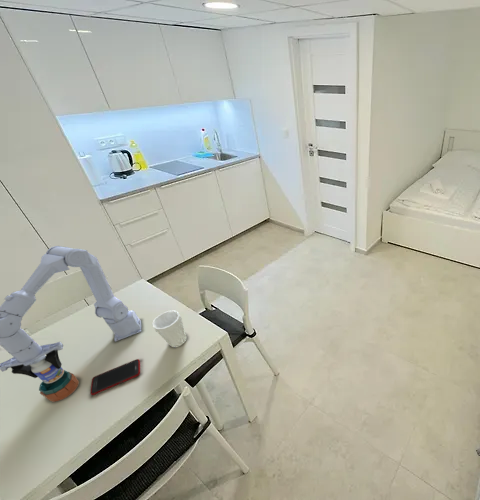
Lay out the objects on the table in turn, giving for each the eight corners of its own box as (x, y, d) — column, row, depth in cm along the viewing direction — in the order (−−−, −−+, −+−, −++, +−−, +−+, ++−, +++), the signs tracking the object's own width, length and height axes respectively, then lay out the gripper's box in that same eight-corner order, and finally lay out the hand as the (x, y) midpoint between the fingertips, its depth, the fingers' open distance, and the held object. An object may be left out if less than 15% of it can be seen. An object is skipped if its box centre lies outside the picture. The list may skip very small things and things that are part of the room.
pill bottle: (52, 385, 95) (33, 368, 90) (40, 382, 96) (20, 365, 91) (68, 370, 100) (51, 353, 94) (56, 368, 101) (38, 351, 95)
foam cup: (160, 346, 116) (146, 324, 108) (179, 329, 123) (167, 307, 115) (177, 353, 113) (164, 331, 105) (195, 335, 120) (184, 314, 112)
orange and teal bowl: (80, 373, 106) (71, 364, 103) (77, 393, 100) (68, 384, 97) (50, 385, 102) (40, 377, 99) (45, 407, 96) (34, 398, 93)
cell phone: (93, 378, 104) (92, 377, 104) (140, 359, 110) (139, 358, 110) (91, 396, 99) (89, 395, 98) (140, 375, 105) (139, 373, 104)
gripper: (-17, 367, 82) (16, 392, 90) (49, 343, 89) (74, 368, 96) (-9, 349, 87) (21, 375, 95) (53, 328, 93) (76, 353, 101)
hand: (48, 370), depth 96 cm, fingers closed on pill bottle, 5 cm apart
